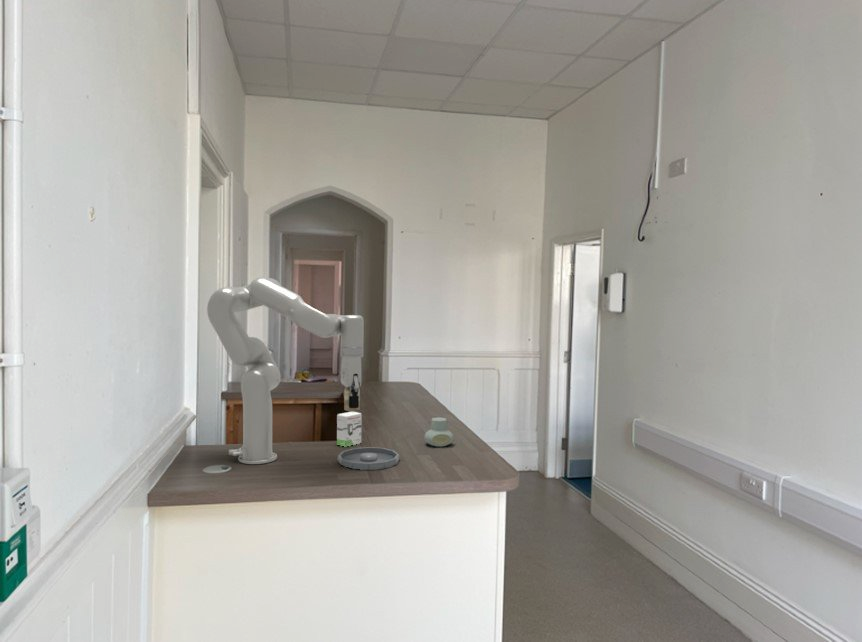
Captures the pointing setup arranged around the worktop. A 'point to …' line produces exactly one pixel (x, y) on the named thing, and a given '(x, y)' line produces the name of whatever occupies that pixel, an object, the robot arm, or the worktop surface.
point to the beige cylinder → (346, 400)
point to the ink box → (349, 428)
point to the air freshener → (438, 433)
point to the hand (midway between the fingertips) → (351, 405)
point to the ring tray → (368, 458)
